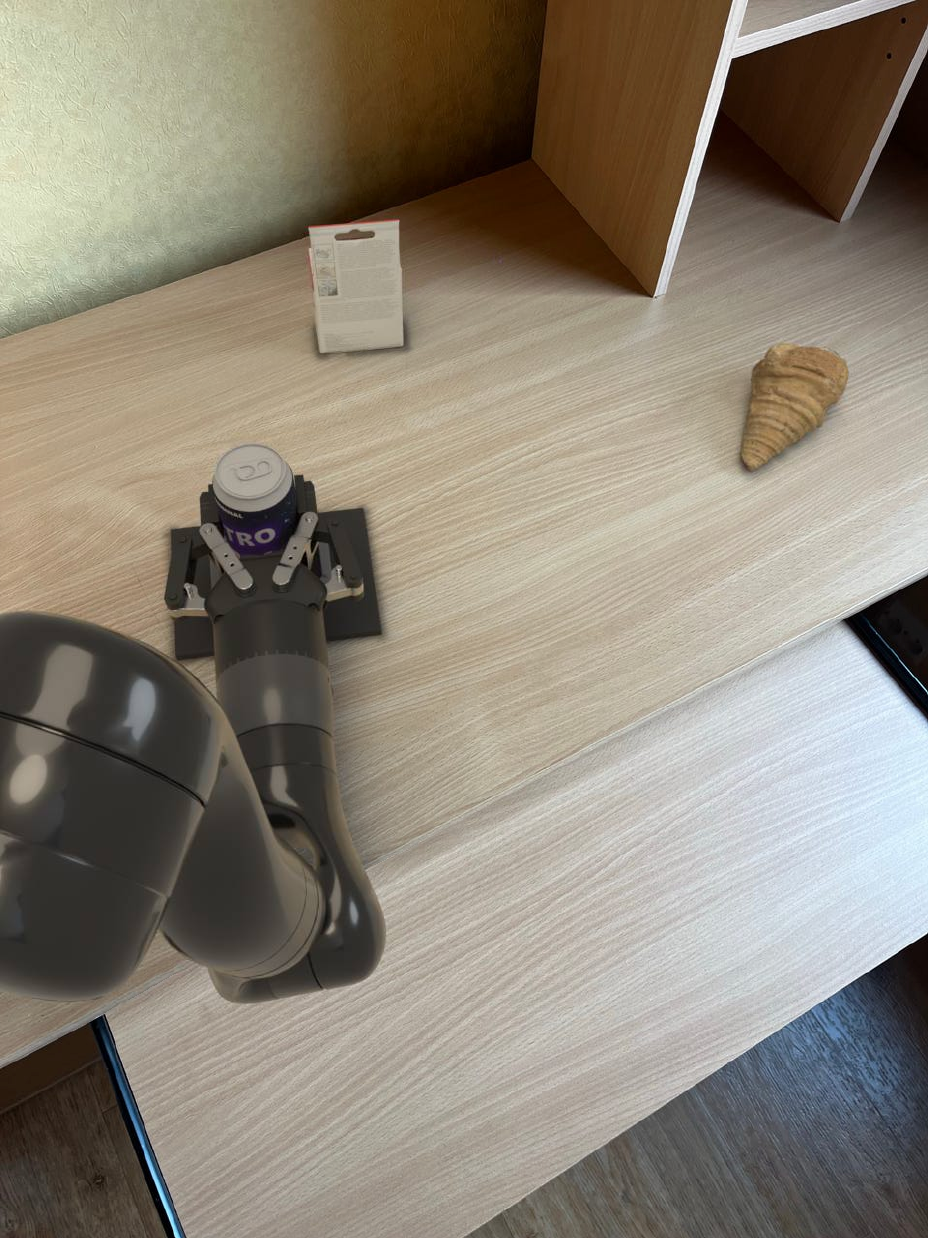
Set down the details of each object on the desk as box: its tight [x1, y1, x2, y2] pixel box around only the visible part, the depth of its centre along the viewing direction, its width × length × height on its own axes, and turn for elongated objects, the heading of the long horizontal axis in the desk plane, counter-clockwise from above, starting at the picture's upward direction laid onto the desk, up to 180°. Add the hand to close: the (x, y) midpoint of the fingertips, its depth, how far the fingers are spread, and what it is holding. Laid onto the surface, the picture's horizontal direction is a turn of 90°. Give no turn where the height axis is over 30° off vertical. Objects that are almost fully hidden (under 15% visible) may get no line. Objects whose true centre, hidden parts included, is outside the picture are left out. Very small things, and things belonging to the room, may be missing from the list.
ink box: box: [307, 219, 405, 355], centre depth 94 cm, size 4×8×15 cm, turn 99°
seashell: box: [739, 342, 850, 472], centre depth 94 cm, size 14×8×8 cm
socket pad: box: [170, 507, 382, 661], centre depth 85 cm, size 16×12×3 cm
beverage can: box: [211, 442, 299, 559], centre depth 78 cm, size 6×6×12 cm
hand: (257, 486), depth 79 cm, fingers closed on beverage can, 5 cm apart
